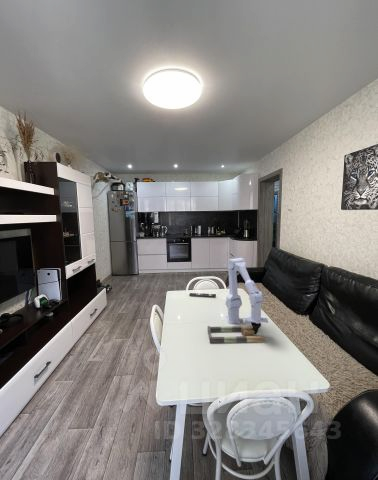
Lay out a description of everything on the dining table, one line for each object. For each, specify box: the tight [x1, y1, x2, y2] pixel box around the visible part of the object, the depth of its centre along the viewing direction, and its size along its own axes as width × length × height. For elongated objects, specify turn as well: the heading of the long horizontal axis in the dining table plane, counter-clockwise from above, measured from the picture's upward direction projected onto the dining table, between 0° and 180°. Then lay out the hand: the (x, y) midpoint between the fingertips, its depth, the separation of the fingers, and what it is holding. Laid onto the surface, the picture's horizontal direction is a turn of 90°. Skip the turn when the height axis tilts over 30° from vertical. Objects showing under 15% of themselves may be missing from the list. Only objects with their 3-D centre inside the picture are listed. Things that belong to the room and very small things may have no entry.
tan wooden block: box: [240, 325, 255, 336], centre depth 128 cm, size 6×6×4 cm
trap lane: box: [207, 325, 265, 344], centre depth 128 cm, size 13×31×3 cm, turn 91°
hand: (255, 333), depth 128 cm, fingers closed
